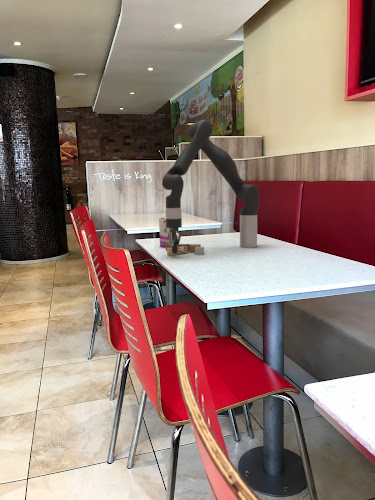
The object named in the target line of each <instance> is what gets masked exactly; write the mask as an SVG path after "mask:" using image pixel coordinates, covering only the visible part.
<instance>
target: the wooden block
mask: <svg viewBox="0 0 375 500" xmlns="http://www.w3.org/2000/svg"><path fill="white" fill-rule="evenodd" d="M201 245H202V244H201V243H198V244H197V243H192V244H191V243H179V245H178V246H177V247H182V246H187V248H188V253H187V254H189V253H190V254H191V253H193V254H195V248H196V247H202V246H201ZM167 248H172V246H171V244H166V248H165V252H167Z"/></svg>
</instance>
